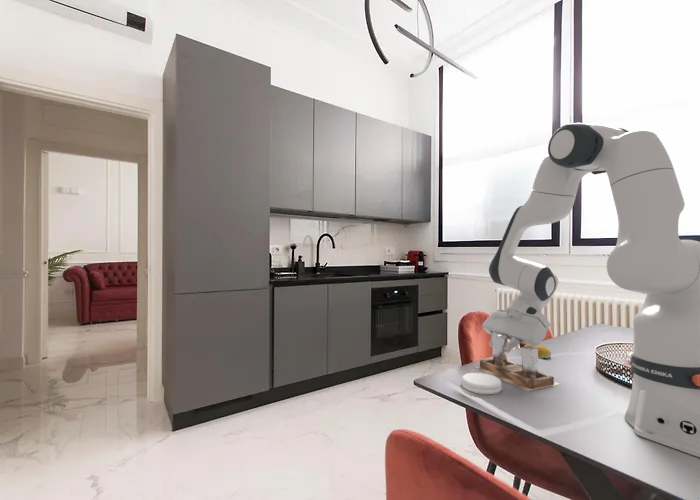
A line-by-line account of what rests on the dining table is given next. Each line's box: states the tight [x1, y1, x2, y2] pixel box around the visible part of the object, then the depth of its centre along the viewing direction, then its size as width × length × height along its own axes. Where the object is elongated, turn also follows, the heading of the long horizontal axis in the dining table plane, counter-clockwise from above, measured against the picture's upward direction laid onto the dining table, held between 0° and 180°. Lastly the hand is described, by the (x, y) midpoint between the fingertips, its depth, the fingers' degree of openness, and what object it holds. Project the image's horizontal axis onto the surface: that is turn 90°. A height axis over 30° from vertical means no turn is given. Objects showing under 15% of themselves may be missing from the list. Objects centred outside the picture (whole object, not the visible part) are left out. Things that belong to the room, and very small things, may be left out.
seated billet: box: [521, 346, 539, 379], centre depth 97 cm, size 4×4×9 cm
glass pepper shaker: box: [492, 333, 508, 367], centre depth 107 cm, size 4×4×9 cm
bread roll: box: [523, 344, 552, 360], centre depth 124 cm, size 8×9×4 cm
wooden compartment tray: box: [473, 357, 561, 392], centre depth 102 cm, size 20×12×3 cm, turn 21°
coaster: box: [461, 372, 503, 399], centre depth 93 cm, size 10×10×4 cm
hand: (498, 348), depth 107 cm, fingers closed on glass pepper shaker, 4 cm apart
